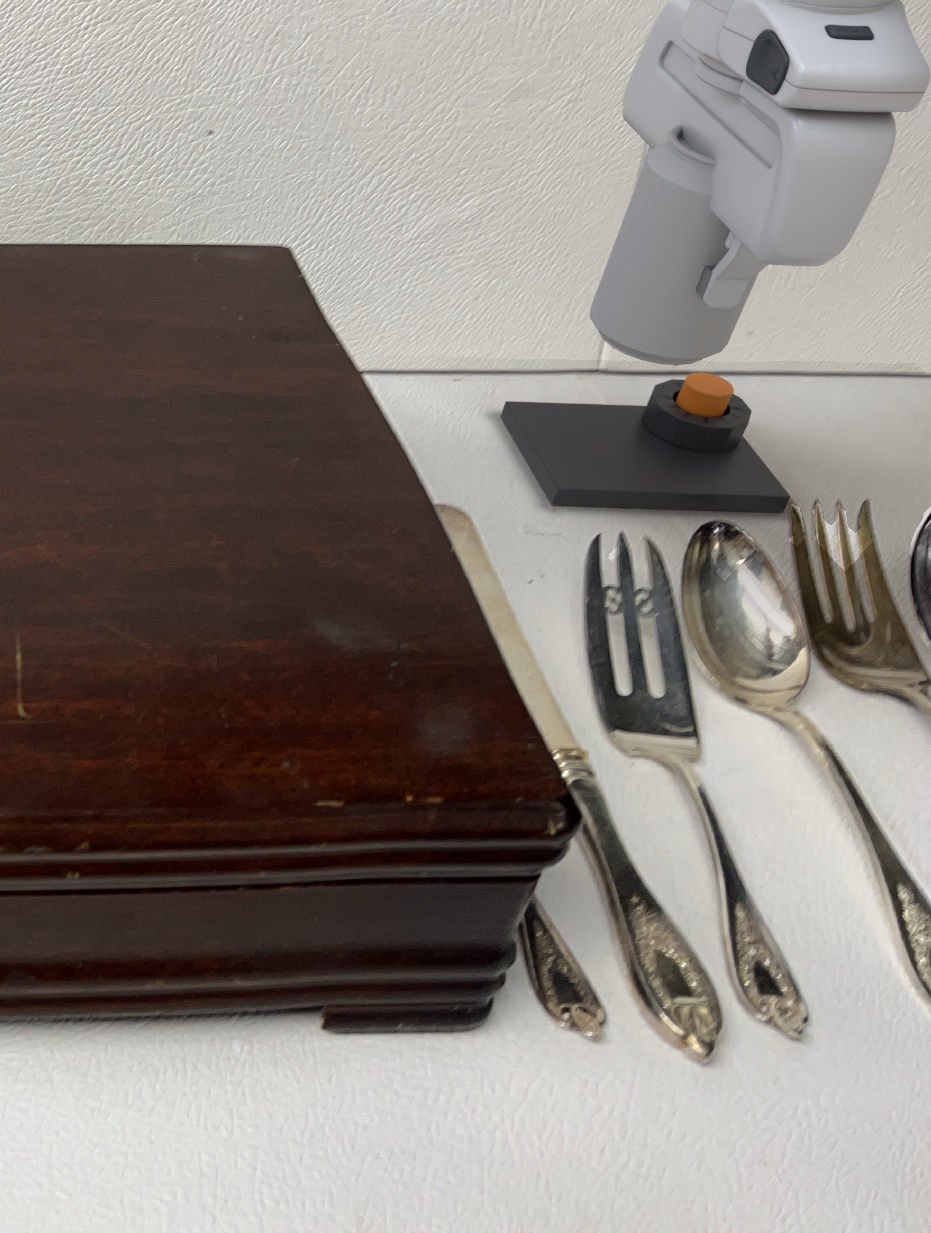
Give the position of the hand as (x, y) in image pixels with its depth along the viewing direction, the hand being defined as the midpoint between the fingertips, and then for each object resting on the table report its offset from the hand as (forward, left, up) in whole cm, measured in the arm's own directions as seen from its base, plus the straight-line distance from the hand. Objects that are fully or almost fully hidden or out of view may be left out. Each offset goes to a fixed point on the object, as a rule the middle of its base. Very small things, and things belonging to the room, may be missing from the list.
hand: (682, 265), depth 89 cm
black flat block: (-3, -1, -14) cm, 15 cm away
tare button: (-7, -4, -12) cm, 14 cm away
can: (0, 0, -5) cm, 5 cm away
